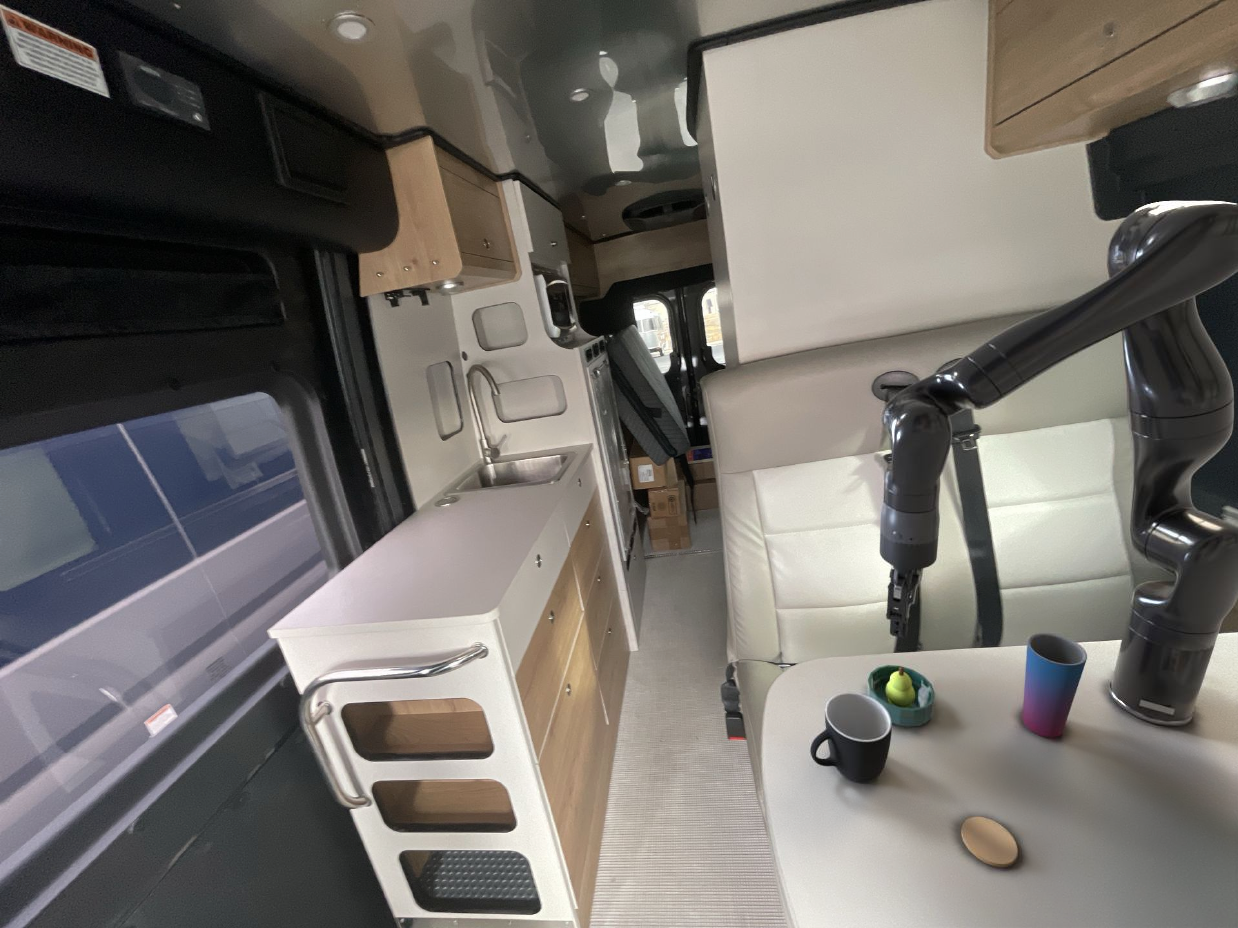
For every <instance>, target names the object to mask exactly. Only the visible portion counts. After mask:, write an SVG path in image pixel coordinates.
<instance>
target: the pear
mask: <svg viewBox="0 0 1238 928" xmlns="http://www.w3.org/2000/svg"><path fill="white" fill-rule="evenodd" d="M911 685H912V682H911V679H910V677H909V676H908V675H907V674H906V673H904V669H903V668H902V667H900V668H899V671H897V672H894V673H893V674H892V675H891V677H890V681H889V682H888V683H887V685H886V695H887V697H888V703H889V704H891V705H894V706H897V707H900V708H911V706H912V703H913V701H914V699H915V691H914V689H913V687H912V686H911Z"/></svg>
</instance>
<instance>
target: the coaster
mask: <svg viewBox="0 0 1238 928" xmlns="http://www.w3.org/2000/svg"><path fill="white" fill-rule="evenodd" d="M960 830H961V831H960V832H961V838H962V841H963V843H964V845H965V847H966V848H967V850H968V851H969V852H970V853H971V854H972V855H973V856H974V857H976V858H977V859H979V860H980V861H981V862H983V863H985V864H986V865H987V864H988V865H989V866H993V867H997V868H1006V867H1009V866H1012V865H1013V864H1014V863H1015V862H1016V861H1017V859H1018V854H1019V849H1018V845H1017V842H1016V840H1015V838H1014V837H1013V835H1012V834H1011V833H1010V832H1009V830H1008V829H1006V828H1005V827H1004V826H1003V825H1002V824H1000V823H999V822H997V821H995V820H993V819H990V818H987V817H984V816H972V817H971V816H970V817H969V818H967V819H966V820H964V821H963V823H962V825H961V829H960Z"/></svg>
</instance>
